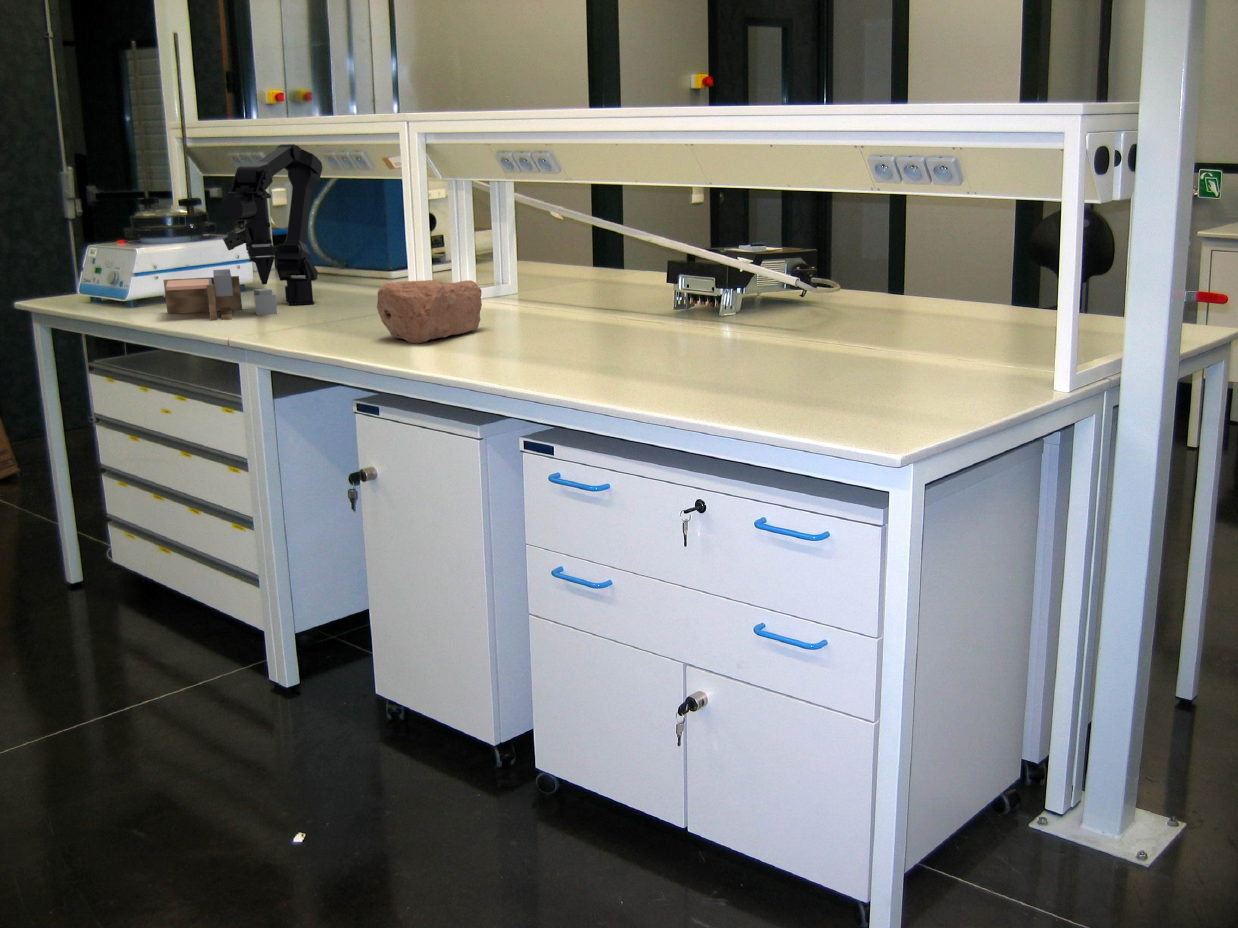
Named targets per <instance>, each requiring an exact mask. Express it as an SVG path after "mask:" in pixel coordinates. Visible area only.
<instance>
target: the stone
mask: <svg viewBox="0 0 1238 928" xmlns="http://www.w3.org/2000/svg"><path fill="white" fill-rule="evenodd" d="M481 297H482V288H481V287H480V286H479V285H478V283H476V281H474V280H468V279H467V280H461V281H456V282H443V281H441V280H436V279H426V280H411V281H410V280H403V281H402V280H401V281H395V282H394V281H393V282H385V283H383V284H382V286H380V287H379V289H378V291H377V303H376V309H377V314H378V315H379V317H380V319H381V320H380V321H381V322H382V324H383V325H384V326H385V327H386V329H387V330H388V332H389V334H390V335H391V336H392V337H394V338H397V339H402V340H405V341H406V342H407V343H409V344H422V343H423V344H424V343H426V342H428V341H429V340H435V339H438V338H446V337H449V336H454V335H461V334H466V333H469V332H473V331H476V330H477V329H478V327H479V326H480V322H481V310H482V307H483V306H482V305H483V303H482V298H481Z"/></svg>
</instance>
